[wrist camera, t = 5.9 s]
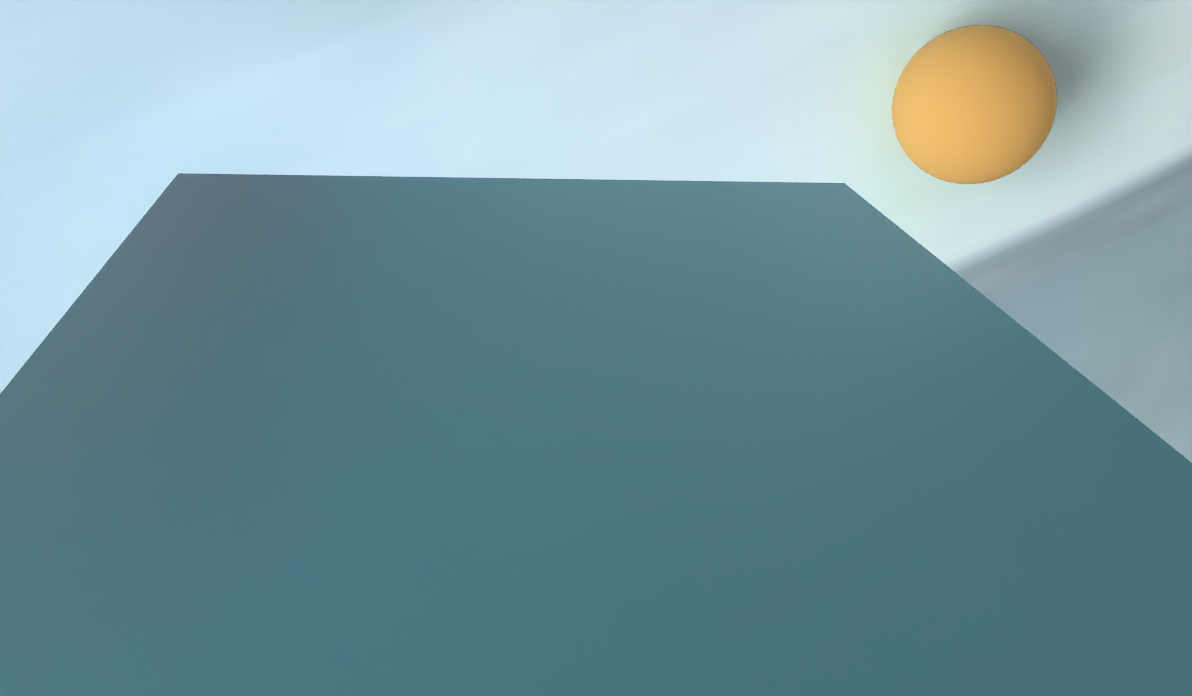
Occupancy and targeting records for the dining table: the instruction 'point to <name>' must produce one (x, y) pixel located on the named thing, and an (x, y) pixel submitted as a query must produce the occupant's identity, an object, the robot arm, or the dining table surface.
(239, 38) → the dining table surface
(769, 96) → the dining table surface
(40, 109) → the dining table surface
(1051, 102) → the ball
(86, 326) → the teal square block
